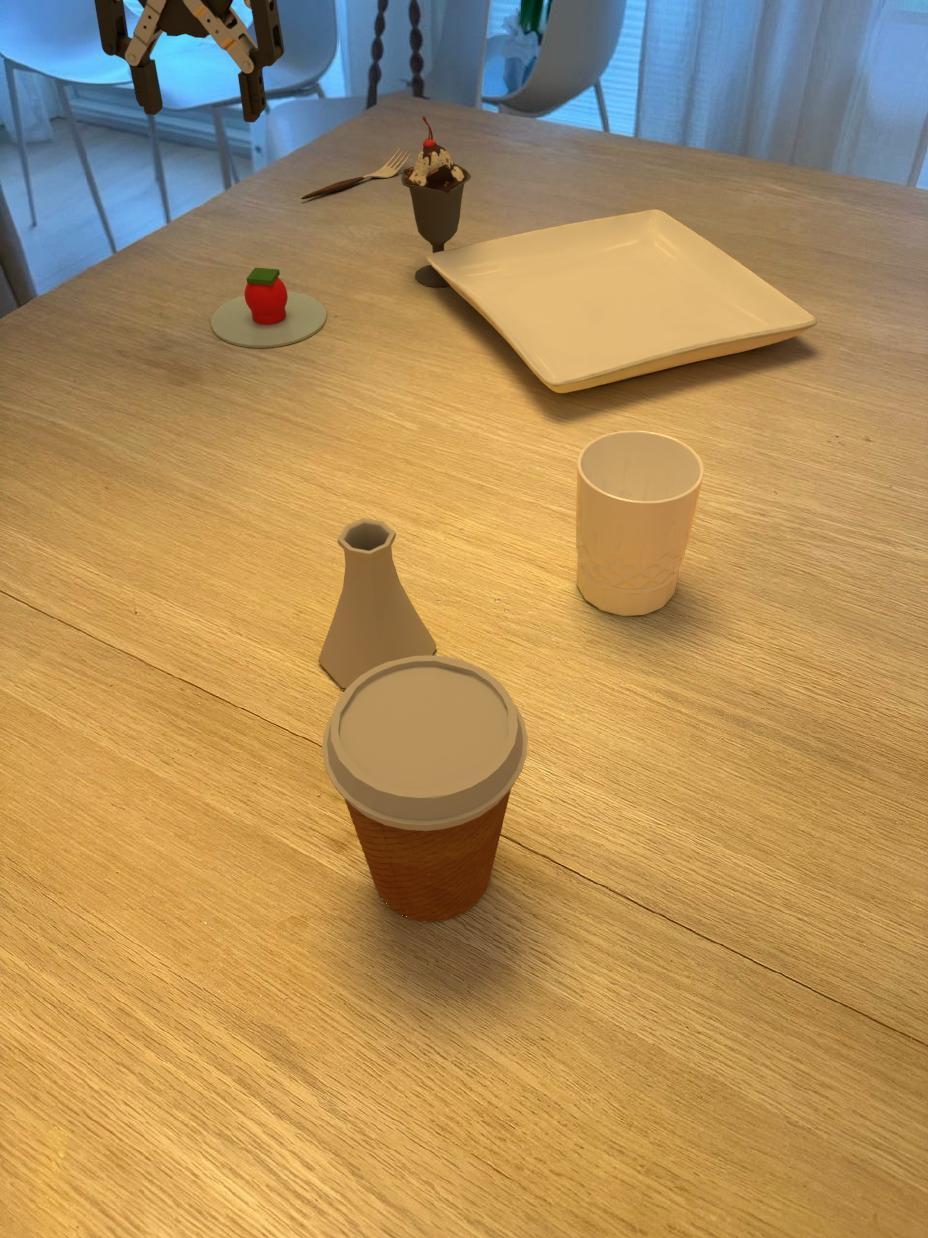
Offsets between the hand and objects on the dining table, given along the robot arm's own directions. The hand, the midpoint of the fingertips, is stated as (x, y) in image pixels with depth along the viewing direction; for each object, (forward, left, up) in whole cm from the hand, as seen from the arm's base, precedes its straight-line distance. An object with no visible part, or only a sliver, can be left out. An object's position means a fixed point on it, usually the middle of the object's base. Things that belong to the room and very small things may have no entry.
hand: (203, 115), depth 86 cm
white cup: (+39, -30, -19) cm, 53 cm away
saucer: (+2, +2, -19) cm, 19 cm away
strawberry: (+2, +2, -19) cm, 19 cm away
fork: (+1, +36, -19) cm, 41 cm away
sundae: (+16, +14, -19) cm, 29 cm away
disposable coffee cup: (+31, -55, -19) cm, 66 cm away
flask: (+24, -40, -19) cm, 50 cm away
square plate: (+34, +8, -19) cm, 40 cm away
